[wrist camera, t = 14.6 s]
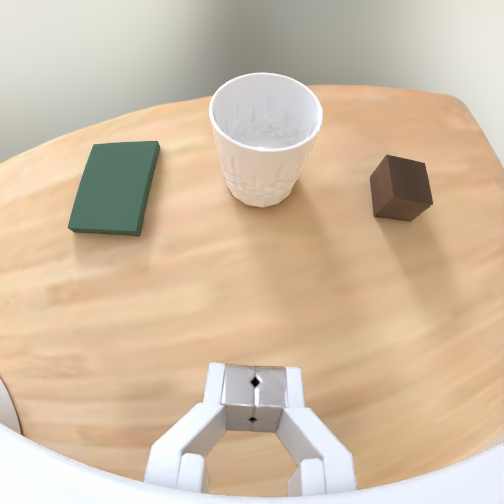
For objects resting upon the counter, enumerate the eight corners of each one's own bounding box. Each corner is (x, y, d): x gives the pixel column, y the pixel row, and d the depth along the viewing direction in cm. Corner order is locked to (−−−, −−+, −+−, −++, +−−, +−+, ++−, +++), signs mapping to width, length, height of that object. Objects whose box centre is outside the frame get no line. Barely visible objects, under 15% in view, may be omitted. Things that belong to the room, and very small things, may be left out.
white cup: (315, 192, 28) (345, 128, 18) (243, 228, 26) (243, 170, 17) (274, 134, 29) (283, 63, 20) (206, 163, 28) (191, 93, 19)
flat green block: (73, 231, 26) (67, 227, 25) (97, 150, 29) (93, 144, 28) (140, 235, 26) (136, 231, 25) (160, 147, 29) (157, 140, 28)
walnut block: (373, 216, 27) (393, 197, 23) (369, 177, 28) (386, 154, 24) (411, 221, 27) (433, 204, 23) (405, 183, 28) (424, 162, 24)
